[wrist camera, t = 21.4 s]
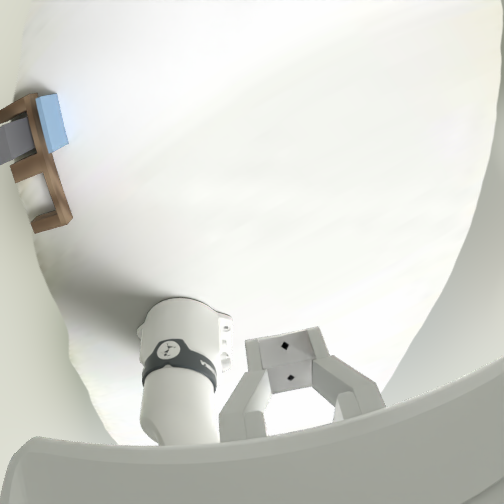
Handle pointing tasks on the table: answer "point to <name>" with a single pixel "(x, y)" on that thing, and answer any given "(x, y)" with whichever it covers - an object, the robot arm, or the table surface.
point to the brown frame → (42, 153)
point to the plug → (15, 139)
